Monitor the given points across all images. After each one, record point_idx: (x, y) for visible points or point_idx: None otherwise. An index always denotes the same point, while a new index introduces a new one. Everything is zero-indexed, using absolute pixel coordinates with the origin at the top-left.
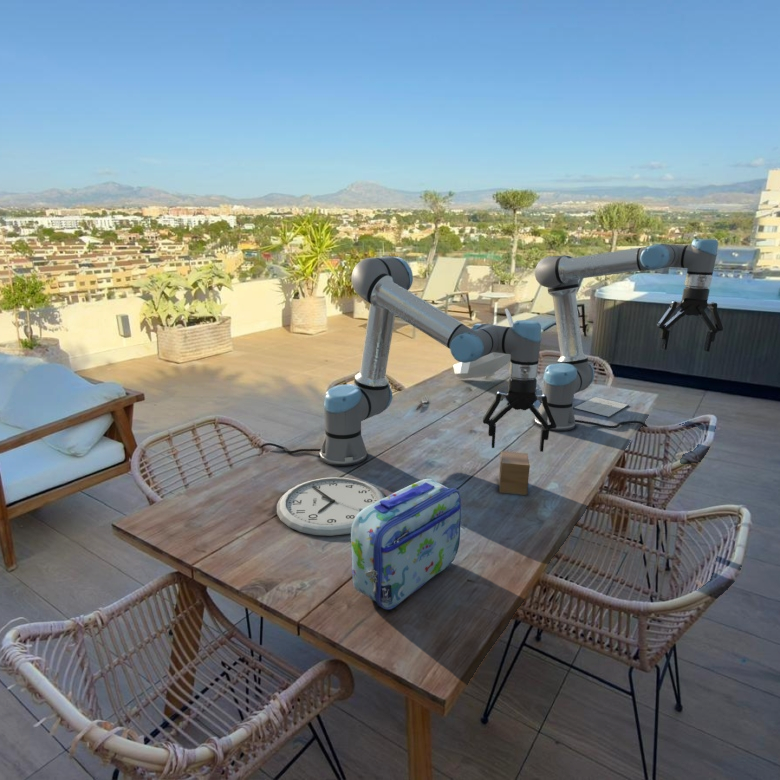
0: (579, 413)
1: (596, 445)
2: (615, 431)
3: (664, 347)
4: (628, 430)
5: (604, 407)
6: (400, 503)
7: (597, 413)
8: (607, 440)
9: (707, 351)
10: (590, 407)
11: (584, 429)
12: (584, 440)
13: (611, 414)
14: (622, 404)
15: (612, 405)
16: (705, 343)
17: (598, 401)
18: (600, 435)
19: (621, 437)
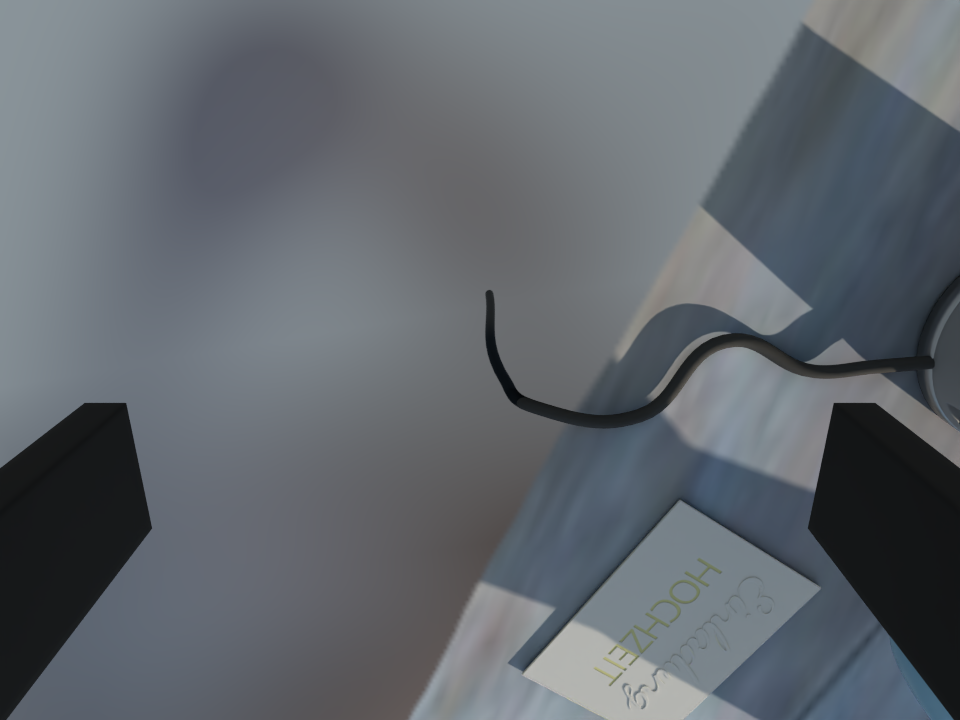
0: None
1: (913, 52)
2: (717, 300)
3: (895, 422)
4: (640, 329)
5: (658, 617)
6: None
7: (726, 529)
8: (816, 149)
9: (114, 404)
10: (732, 604)
11: (882, 295)
12: (952, 120)
13: (657, 529)
14: (550, 672)
15: (606, 651)
16: (83, 592)
17: (659, 690)
18: (826, 221)
19: (717, 214)
